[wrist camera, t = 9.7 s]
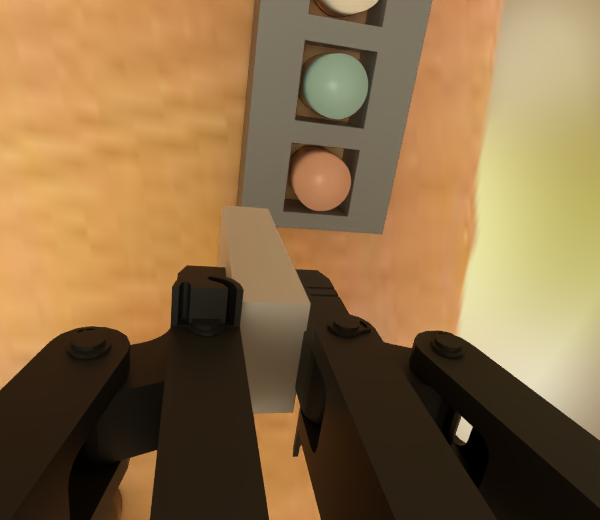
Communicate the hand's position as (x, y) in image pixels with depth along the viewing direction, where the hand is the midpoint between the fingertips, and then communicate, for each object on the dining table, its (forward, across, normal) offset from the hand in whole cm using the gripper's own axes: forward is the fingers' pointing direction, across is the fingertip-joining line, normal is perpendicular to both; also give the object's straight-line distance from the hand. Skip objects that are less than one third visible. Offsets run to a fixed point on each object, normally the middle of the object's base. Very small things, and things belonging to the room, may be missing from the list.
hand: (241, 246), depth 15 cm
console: (+24, +8, +5) cm, 26 cm away
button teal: (+24, +8, +5) cm, 25 cm away
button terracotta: (+24, +8, -2) cm, 25 cm away
